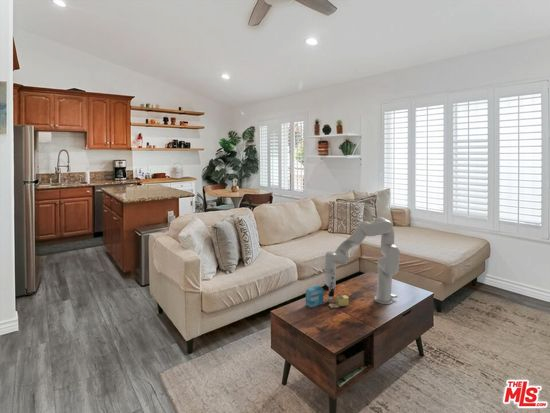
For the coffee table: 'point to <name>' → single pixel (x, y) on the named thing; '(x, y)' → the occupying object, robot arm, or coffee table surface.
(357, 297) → the coffee table surface
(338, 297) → the yellow and grey block
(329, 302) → the shiny grey cylinder
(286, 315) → the coffee table surface
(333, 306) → the beige striped flat block
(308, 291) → the data package
